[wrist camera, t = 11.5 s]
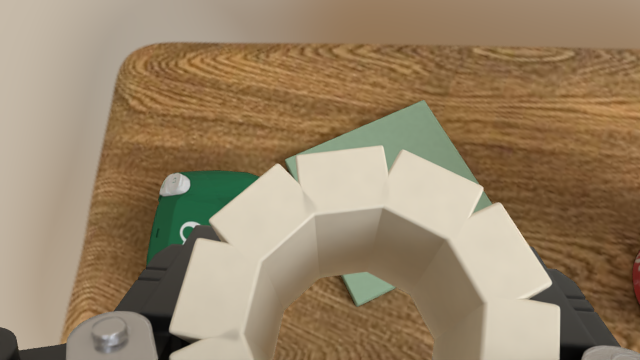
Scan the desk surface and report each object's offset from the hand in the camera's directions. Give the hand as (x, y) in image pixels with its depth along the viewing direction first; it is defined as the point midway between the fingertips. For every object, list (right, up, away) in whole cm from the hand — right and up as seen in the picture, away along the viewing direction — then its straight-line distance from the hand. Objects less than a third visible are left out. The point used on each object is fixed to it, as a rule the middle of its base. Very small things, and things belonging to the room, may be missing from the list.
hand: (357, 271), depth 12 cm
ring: (0, -2, 0) cm, 2 cm away
